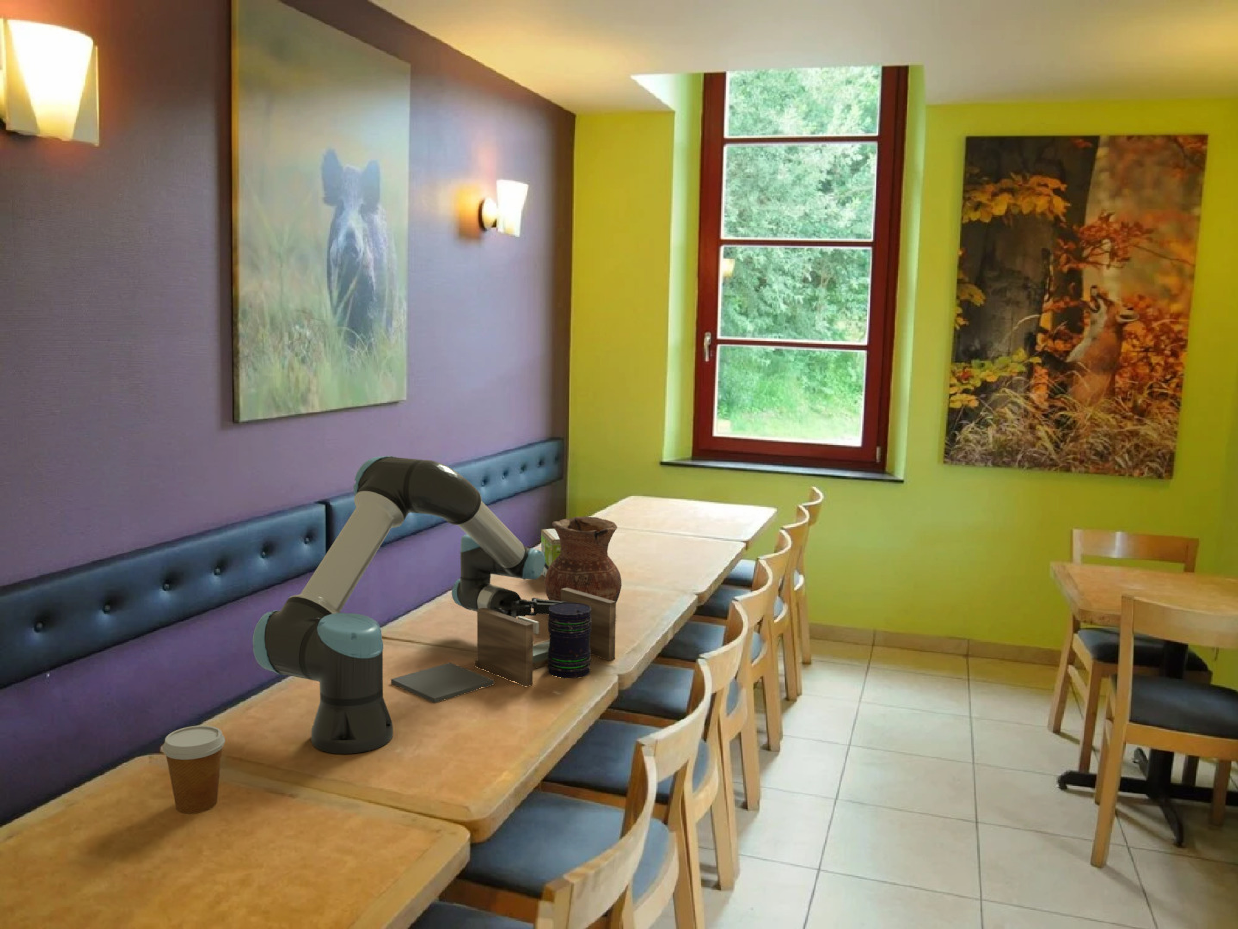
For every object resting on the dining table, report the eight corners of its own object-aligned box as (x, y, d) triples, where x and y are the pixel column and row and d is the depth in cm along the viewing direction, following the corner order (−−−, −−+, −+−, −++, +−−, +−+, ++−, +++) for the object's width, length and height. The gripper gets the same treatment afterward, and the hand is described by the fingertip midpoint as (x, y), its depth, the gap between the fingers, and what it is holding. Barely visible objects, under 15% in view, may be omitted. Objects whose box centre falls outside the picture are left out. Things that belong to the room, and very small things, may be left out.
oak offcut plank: (530, 672, 238) (530, 665, 238) (512, 666, 242) (512, 659, 242) (567, 660, 247) (567, 653, 247) (550, 654, 251) (550, 647, 251)
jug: (632, 618, 280) (634, 527, 276) (558, 625, 272) (559, 532, 269) (603, 597, 300) (605, 512, 297) (534, 603, 293) (534, 516, 289)
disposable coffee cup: (205, 822, 165) (202, 750, 164) (152, 815, 167) (149, 744, 166) (238, 795, 175) (236, 727, 173) (188, 789, 177) (185, 722, 175)
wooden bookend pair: (525, 687, 227) (526, 625, 225) (474, 667, 240) (474, 608, 238) (614, 658, 247) (615, 601, 245) (563, 641, 260) (564, 586, 258)
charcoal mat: (434, 703, 217) (434, 698, 217) (391, 683, 228) (391, 679, 228) (494, 684, 229) (494, 680, 228) (450, 666, 239) (450, 662, 239)
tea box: (540, 574, 325) (540, 528, 323) (571, 572, 328) (571, 526, 326) (551, 586, 311) (551, 538, 309) (583, 584, 314) (584, 536, 312)
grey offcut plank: (531, 664, 239) (531, 656, 239) (516, 658, 242) (516, 651, 242) (565, 653, 247) (565, 646, 247) (551, 648, 250) (551, 641, 250)
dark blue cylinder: (538, 670, 238) (539, 607, 236) (570, 661, 245) (571, 599, 243) (567, 682, 231) (568, 617, 229) (599, 672, 238) (600, 609, 236)
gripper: (538, 608, 263) (597, 626, 249) (459, 628, 246) (518, 649, 231) (538, 579, 262) (597, 596, 248) (459, 597, 244) (518, 617, 230)
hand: (559, 622), depth 240 cm, fingers open, 13 cm apart
